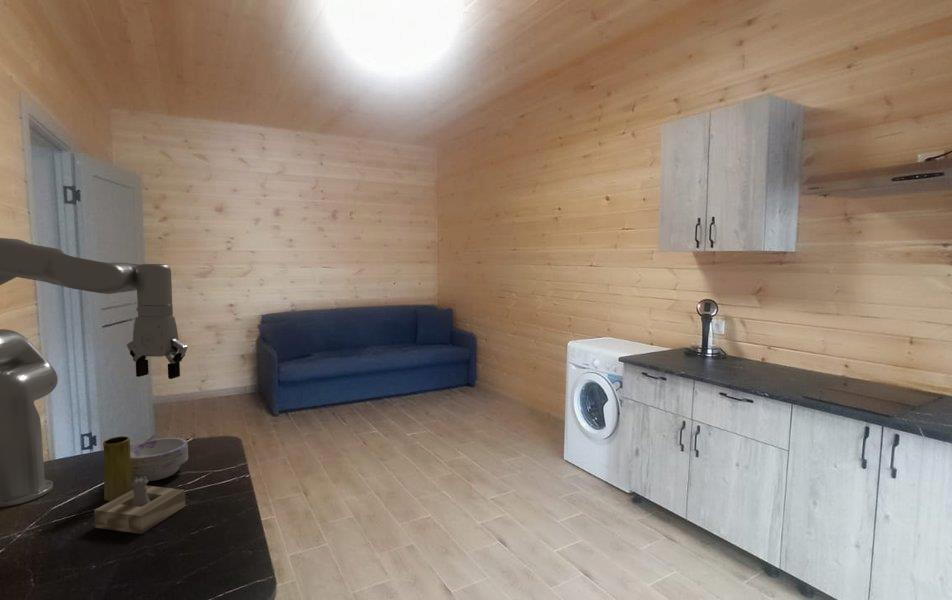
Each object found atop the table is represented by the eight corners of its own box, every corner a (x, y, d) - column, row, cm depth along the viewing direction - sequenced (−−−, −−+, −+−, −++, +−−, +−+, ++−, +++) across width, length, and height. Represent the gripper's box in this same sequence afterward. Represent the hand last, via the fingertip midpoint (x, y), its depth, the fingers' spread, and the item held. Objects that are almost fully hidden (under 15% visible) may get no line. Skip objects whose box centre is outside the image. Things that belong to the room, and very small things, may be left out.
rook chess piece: (125, 518, 107) (124, 484, 106) (134, 508, 111) (132, 475, 111) (148, 516, 108) (147, 481, 107) (156, 506, 112) (154, 473, 112)
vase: (117, 502, 116) (115, 445, 114) (97, 500, 117) (94, 443, 116) (140, 491, 121) (137, 436, 120) (120, 488, 123) (117, 434, 122)
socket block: (95, 527, 105) (94, 509, 105) (142, 500, 117) (142, 485, 116) (141, 533, 103) (140, 516, 102) (185, 506, 114) (184, 489, 114)
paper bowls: (149, 462, 139) (148, 435, 138) (200, 463, 138) (199, 437, 138) (107, 486, 124) (105, 457, 123) (164, 488, 123) (162, 458, 123)
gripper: (114, 312, 121) (117, 378, 123) (172, 314, 118) (175, 382, 120) (140, 309, 129) (142, 371, 130) (195, 311, 126) (197, 375, 127)
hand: (158, 376), depth 125 cm, fingers open, 9 cm apart
